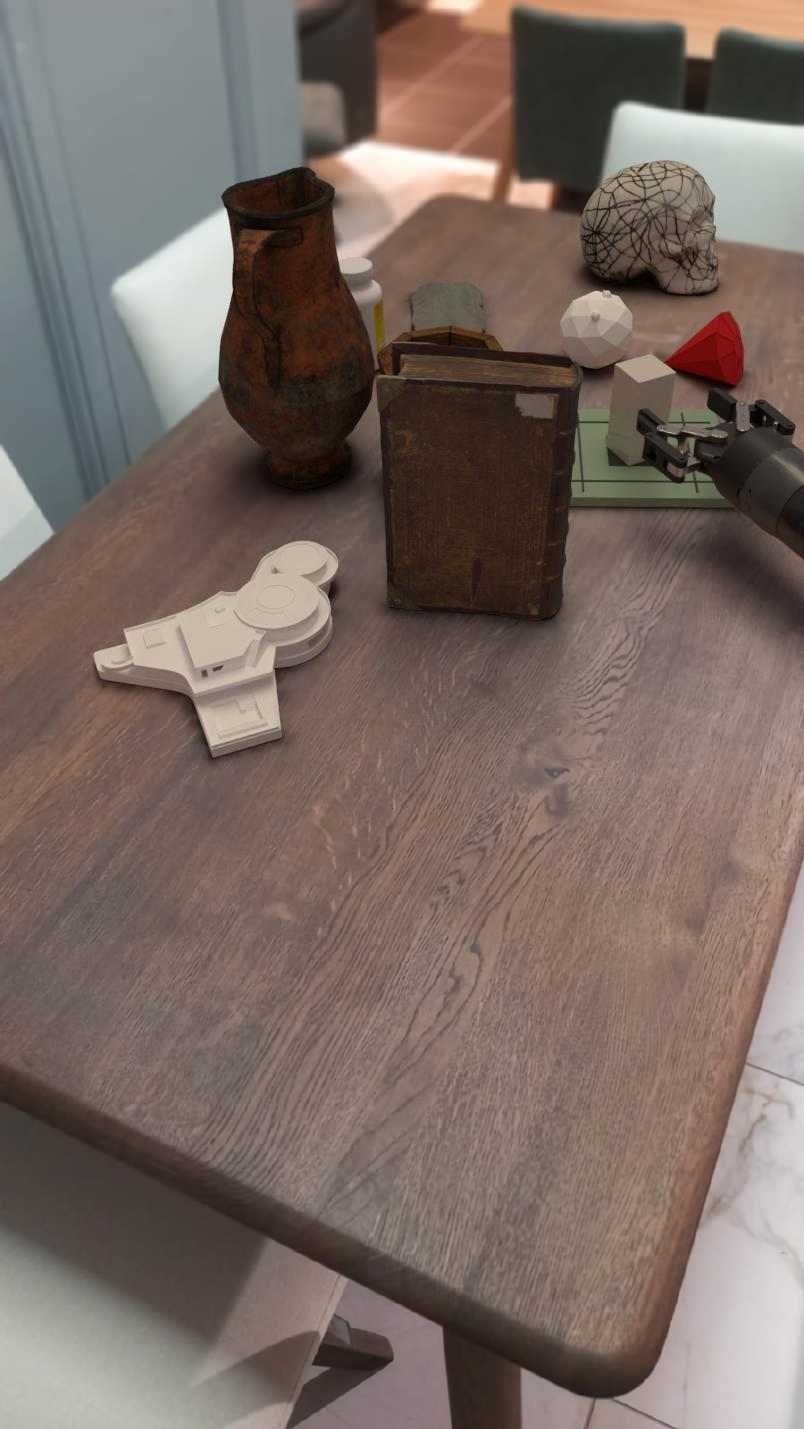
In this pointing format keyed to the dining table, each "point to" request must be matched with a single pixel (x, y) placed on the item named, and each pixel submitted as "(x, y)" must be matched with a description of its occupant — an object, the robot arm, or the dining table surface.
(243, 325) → the pitcher
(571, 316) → the decorative ball
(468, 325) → the stone slab
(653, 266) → the sculpture
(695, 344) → the gemstone
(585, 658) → the dining table surface
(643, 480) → the grid board
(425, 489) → the book
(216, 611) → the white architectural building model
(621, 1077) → the dining table surface
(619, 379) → the beige rectangular block
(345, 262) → the supplement bottle
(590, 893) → the dining table surface
